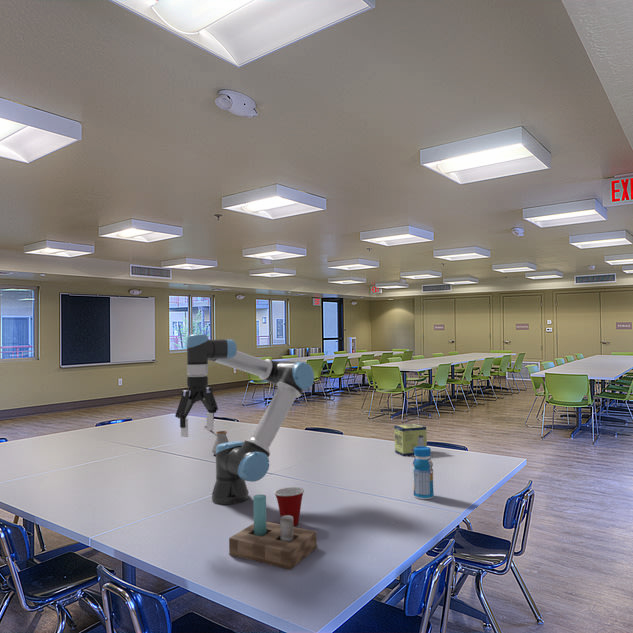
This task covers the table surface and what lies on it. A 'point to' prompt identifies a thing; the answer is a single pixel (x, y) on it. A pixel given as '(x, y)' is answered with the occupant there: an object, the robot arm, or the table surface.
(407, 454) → the protein box
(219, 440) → the coffee pot
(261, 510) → the teal peg
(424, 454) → the beverage bottle
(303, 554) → the bore block
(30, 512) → the table surface
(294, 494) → the plastic cup
